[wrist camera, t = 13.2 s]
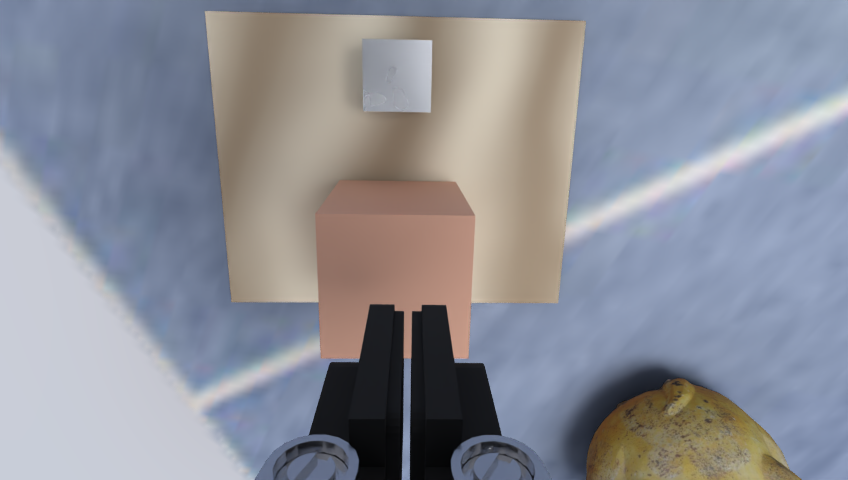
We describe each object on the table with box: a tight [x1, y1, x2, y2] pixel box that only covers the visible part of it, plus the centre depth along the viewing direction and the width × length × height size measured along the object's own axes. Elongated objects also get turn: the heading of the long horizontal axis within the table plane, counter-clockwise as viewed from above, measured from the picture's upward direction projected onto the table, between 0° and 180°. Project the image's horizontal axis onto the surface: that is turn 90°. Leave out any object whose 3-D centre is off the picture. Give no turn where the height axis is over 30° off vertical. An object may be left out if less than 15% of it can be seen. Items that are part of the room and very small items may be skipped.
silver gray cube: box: [362, 39, 432, 112], centre depth 21 cm, size 3×3×3 cm
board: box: [205, 11, 586, 303], centre depth 24 cm, size 16×13×1 cm
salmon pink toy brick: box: [315, 180, 475, 358], centre depth 21 cm, size 5×5×7 cm
